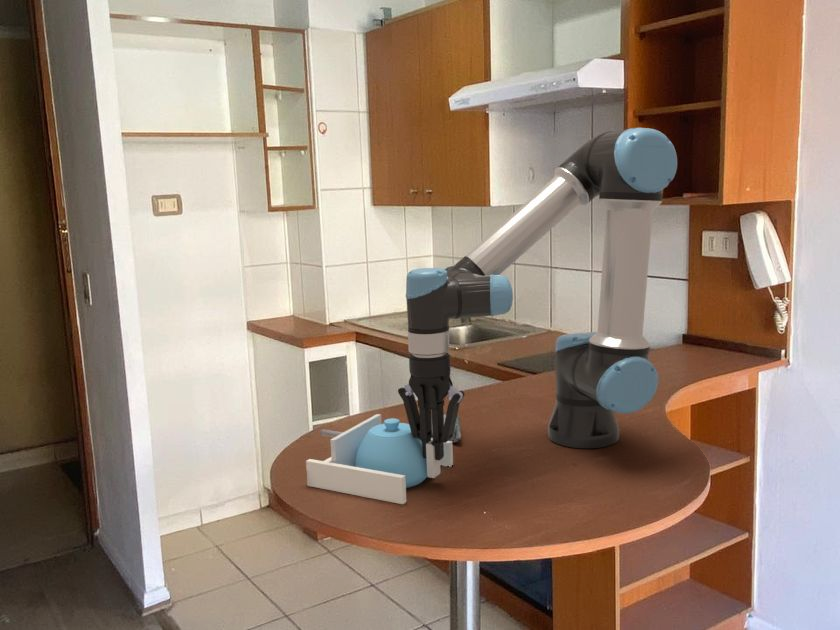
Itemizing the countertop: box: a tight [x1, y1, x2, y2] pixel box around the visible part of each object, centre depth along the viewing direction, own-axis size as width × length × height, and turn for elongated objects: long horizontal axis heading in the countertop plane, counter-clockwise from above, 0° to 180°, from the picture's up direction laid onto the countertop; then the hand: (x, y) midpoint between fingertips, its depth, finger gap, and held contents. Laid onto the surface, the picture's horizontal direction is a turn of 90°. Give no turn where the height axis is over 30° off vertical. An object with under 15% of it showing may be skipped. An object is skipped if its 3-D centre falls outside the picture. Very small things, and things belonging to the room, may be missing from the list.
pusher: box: [320, 413, 383, 467], centre depth 155 cm, size 9×17×9 cm, turn 152°
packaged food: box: [432, 414, 462, 443], centre depth 171 cm, size 9×12×5 cm
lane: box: [305, 438, 454, 505], centre depth 151 cm, size 21×20×5 cm
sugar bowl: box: [355, 417, 428, 489], centre depth 149 cm, size 15×15×12 cm
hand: (433, 474), depth 145 cm, fingers closed
